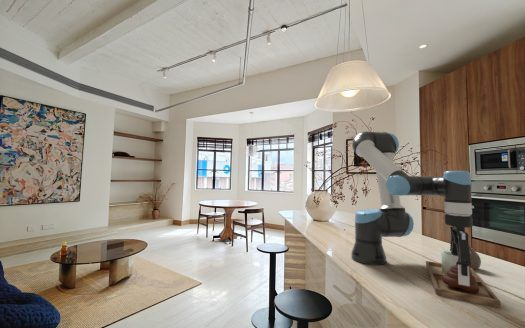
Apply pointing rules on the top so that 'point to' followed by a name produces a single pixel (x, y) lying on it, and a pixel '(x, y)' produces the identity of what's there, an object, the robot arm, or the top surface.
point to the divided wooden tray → (443, 289)
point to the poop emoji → (452, 280)
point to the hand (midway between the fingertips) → (460, 279)
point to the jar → (446, 260)
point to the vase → (474, 259)
